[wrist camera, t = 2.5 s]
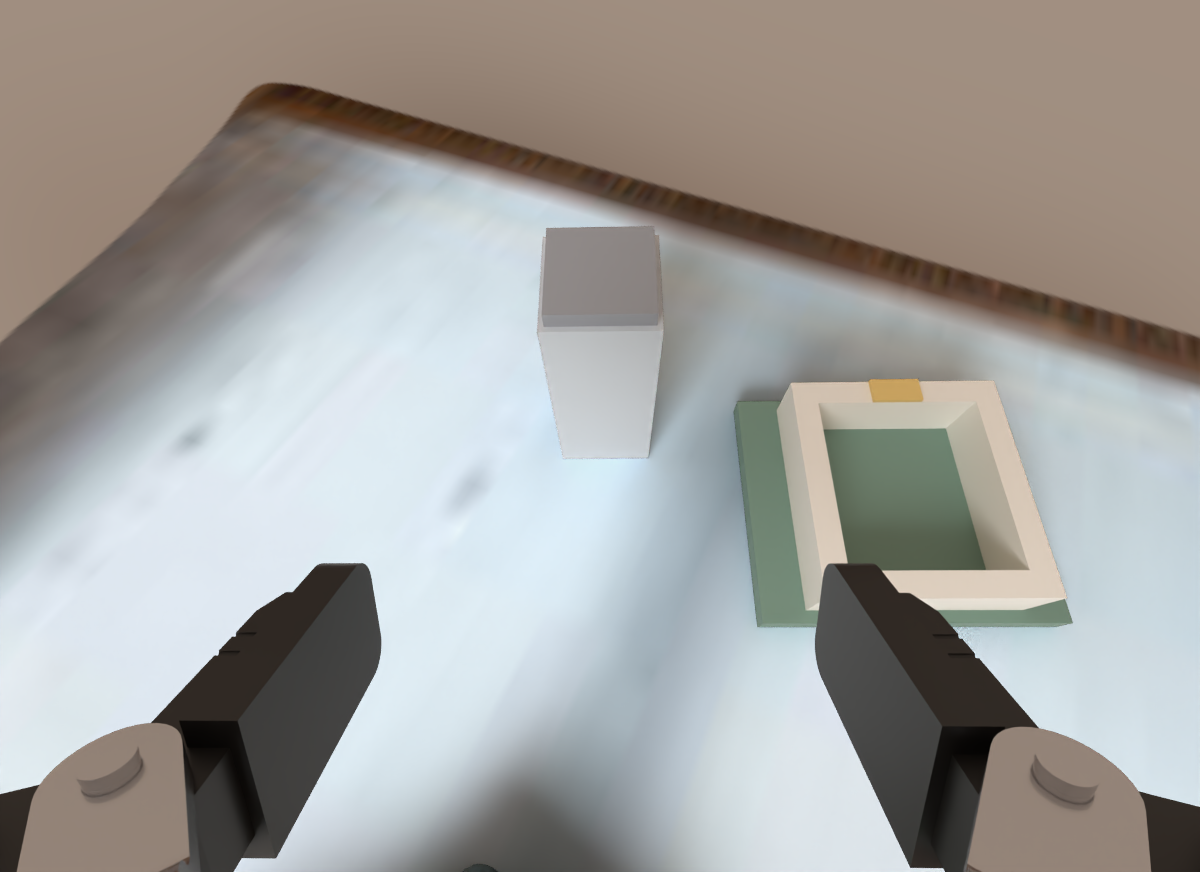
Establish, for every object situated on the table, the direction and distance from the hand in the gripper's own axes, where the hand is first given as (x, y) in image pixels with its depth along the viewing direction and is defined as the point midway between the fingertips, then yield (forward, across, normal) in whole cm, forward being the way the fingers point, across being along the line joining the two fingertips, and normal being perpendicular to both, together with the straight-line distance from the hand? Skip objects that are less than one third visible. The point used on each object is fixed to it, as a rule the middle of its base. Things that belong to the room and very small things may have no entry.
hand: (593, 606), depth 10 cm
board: (+15, -12, +6) cm, 20 cm away
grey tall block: (+18, 0, +2) cm, 18 cm away
